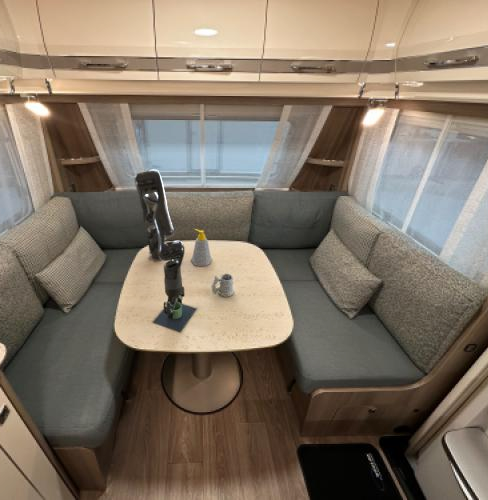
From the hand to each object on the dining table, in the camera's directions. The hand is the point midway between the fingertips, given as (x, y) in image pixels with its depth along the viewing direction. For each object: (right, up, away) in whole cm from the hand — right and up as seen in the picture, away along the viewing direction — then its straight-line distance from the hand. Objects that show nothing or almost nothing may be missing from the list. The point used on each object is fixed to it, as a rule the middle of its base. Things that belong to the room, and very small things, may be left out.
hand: (175, 311), depth 123 cm
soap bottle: (+12, +22, +42) cm, 49 cm away
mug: (+23, +6, +15) cm, 28 cm away
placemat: (0, -2, +1) cm, 2 cm away
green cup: (0, -2, +1) cm, 2 cm away
